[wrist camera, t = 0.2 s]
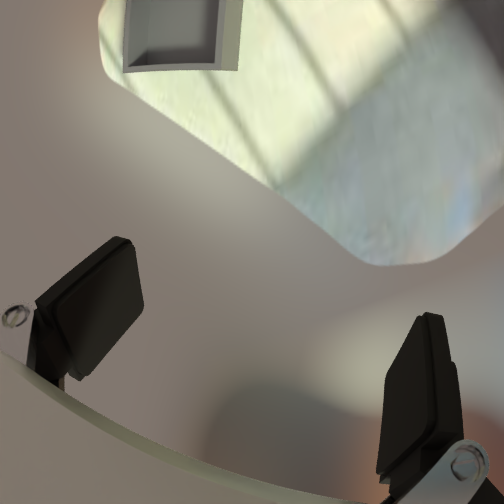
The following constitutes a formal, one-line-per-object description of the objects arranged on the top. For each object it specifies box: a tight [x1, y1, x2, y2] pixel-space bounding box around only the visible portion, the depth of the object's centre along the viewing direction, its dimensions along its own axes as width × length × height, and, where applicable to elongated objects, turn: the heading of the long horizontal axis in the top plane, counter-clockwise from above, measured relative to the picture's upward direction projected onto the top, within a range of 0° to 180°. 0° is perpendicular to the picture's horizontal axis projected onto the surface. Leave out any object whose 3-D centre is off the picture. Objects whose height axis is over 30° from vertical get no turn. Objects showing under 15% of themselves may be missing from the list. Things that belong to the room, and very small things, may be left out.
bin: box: [123, 0, 243, 73], centre depth 30 cm, size 14×14×5 cm
